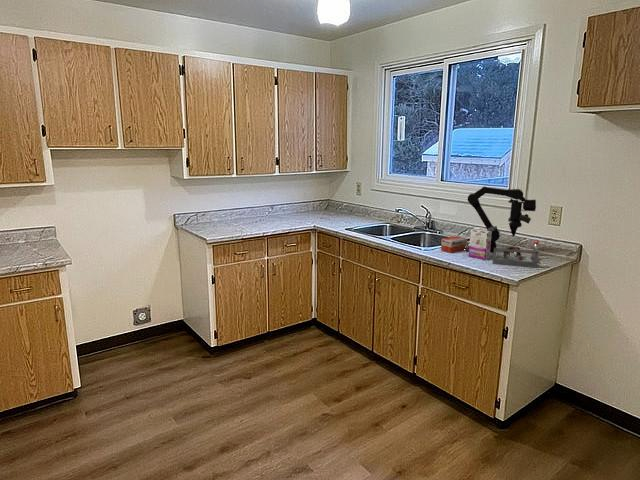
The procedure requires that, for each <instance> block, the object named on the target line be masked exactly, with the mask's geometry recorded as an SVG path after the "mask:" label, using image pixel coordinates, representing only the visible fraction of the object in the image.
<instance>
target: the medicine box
mask: <svg viewBox="0 0 640 480" xmlns="http://www.w3.org/2000/svg"><path fill="white" fill-rule="evenodd" d="M440 243H441V245H440V251H441V252H444V253H449V254H454V253H459V252H464V249H465V246H466V244H467V245H468V238H467V237H463V236H459V235H455V236H450V237H443V238H442V239H441V242H440Z"/></svg>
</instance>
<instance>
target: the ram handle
mask: <svg viewBox="0 0 640 480" xmlns="http://www.w3.org/2000/svg"><path fill="white" fill-rule="evenodd" d="M539 242H540V241H539V240H537V239H535V240H534V241H533V251H538V246H539ZM530 256H531V257H532V258H535V254H532V253H531V255H530ZM531 257H530V258H531Z"/></svg>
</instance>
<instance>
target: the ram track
mask: <svg viewBox="0 0 640 480" xmlns="http://www.w3.org/2000/svg"><path fill="white" fill-rule="evenodd" d="M531 256H532V255H530V256H529V257H530V260H531V261H532V262H533V261H534V260H535V258H532V257H531ZM537 264H541V261H540V259H539V258H538V262H537Z"/></svg>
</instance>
